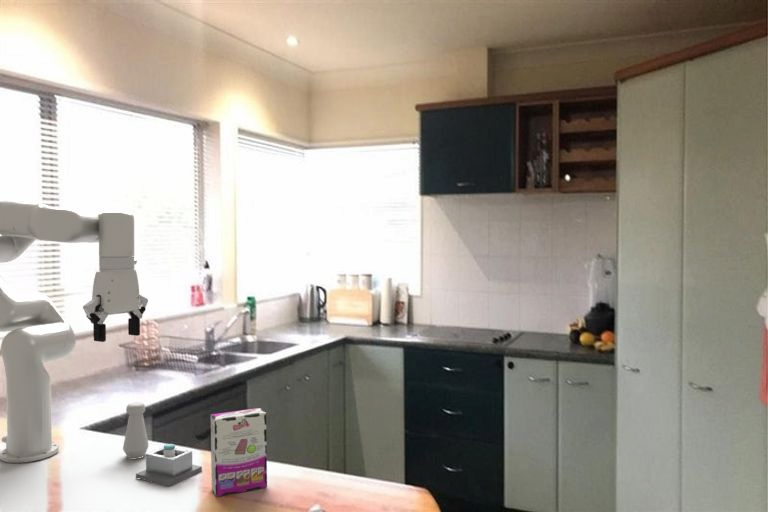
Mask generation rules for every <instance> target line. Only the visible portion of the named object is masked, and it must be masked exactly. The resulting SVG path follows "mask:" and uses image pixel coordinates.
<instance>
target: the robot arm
mask: <svg viewBox="0 0 768 512" xmlns="http://www.w3.org/2000/svg"><path fill="white" fill-rule="evenodd" d="M36 240H38V241H46V242H57V243H67V244H69V243H71V244H72V243H73V244H74V243H88V244H89V243H90V244H91V243H98V257H99V258H98V261H99V262H98V266H99V267H98V269H99V270H96V271H95V274H94V275H95V276H94V278H93V284H92V294H91V295H92V296H91V300H89V301H88V302H86V303H85V304H84V305H83V306H82V310H83V311H84V313H85V316H86V319H88V320H89V321H90V324H92V327H93V334H92V335H93V341H94V342H101V343H104V342H106V340H107V329H106V328H107V325H106V323H104V322H105V321H106V319H107V317H108V316H110V315H119V314H126V313H127V314H128V316H129V318H128V320H127V326H128V327H127V329H128V335H129V336H136V337H137V336H138V337H139V336H141V335H140V334H141V319H143V315H144V313H145V311H146V310H147V309H146V307H147V305H148V303H149V299H148V298H147V297H144V296H142V295H141V294H140V287H139V278H138V274H137V270H135V265H137V263H138V262H137V259H136V258H135V218H134V215H133V213H131V212H130V211H118V210H115V211H114V210H110V211H109V210H107V211H102V210H101V211H100V210H89V209H69V208H67V209H66V208H54V207H52V208H51V206H49V205H47V204H43V203H32V202H23V201H21V202H20V201H7V200H6V201H4V200H3V201H0V263H1V264H2V263H8V262H12V261H14V260H16V259H18V258H19V257H20V256H21V255H22V254H24V252H25V251H26V250H28V248H29V247H30V246H31V245H32V244H34V243H35V241H36ZM0 332H1V333H5V332H8V333H7V334H5V336H4V337H3V339H2V340H1V344H0V351H1V358H2V361H3V367H4V371H5V381H6V382H5V383H6V384H5V387H6V425H7V426H6V432H7V433H6V434H7V435H6V436H3V437H2V438H1V442H2V443H5V448H4V449H3V450H2V451H1V452H0V460H1V461H3V462H5V463H14V464H18V463H29V462H30V463H31V462H36V461H40V460H43V459H44V460H45V459H46V458H49V457H52V456H54V455H56V454H57V453H58V451H59V449H60V447H59V444H58V443H57V442H53V441H52V438H53V437H52V435H53V434H52V428H53V427H52V380H51V377H50V374H49V373H48V371H47V369H46V368H45V365H44V363H47V362H50V361H56V360H59V359H62V358H66V357H68V356H69V355H71V353H72V352H73V351H74V349H75V347H76V343H77V342H76V341H77V339H76V334H75V333H74V330H73V328H72V326H71V325H70V324H69V322H68V321H67V319H66V318H65V317H64V316H63V314H62V313H61V312H60V310H59V309H58V307H56V305H55V303H54V302H53V301H52V300H51V298H49V297H48V296H47V295H45V294H44V293H42V292H39V291H35V290H33V291H32V290H29V291H28V290H27V291H20V292H19V291H15V290H13V289H12V288H11V287H10V286H9V285H8V284H7V282H6V281H5V280H4V278H3V277H2V276H1V275H0Z"/></svg>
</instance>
